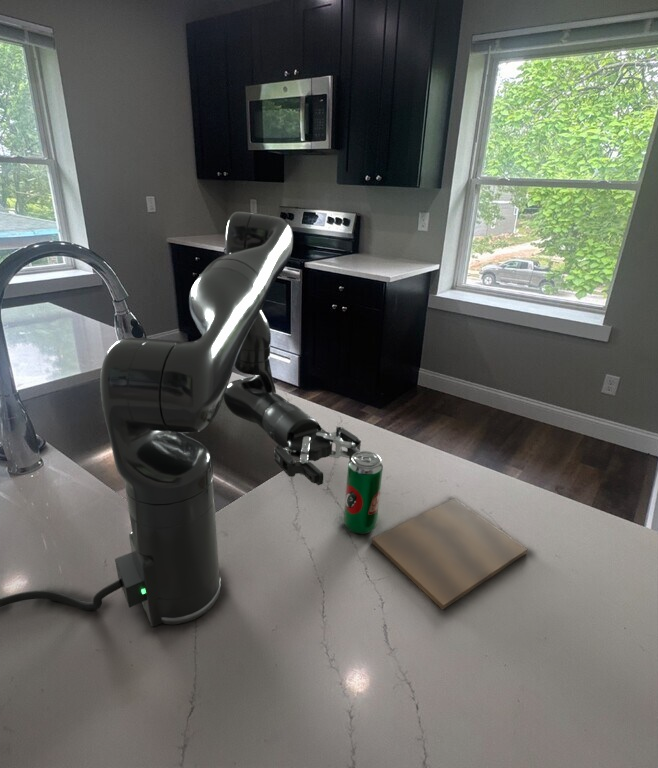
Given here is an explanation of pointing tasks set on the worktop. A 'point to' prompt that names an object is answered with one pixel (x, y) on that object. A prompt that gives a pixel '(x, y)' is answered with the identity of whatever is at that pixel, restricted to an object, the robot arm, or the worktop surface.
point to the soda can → (363, 492)
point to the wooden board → (448, 551)
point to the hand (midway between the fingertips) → (344, 471)
